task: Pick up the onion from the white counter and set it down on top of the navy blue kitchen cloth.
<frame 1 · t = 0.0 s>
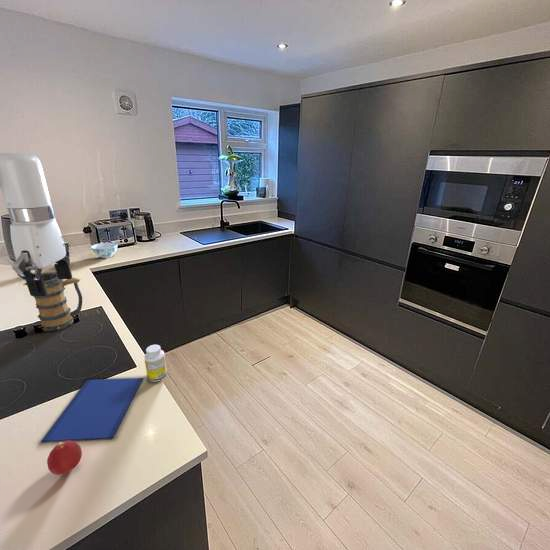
hand: (53, 286, 69), 33 cm above the worktop, tool pointing down, fingers open, 9 cm apart
mug: (64, 322, 115), on the worktop
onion: (69, 470, 61), on the worktop
dixie cup: (65, 267, 172), on the worktop
chinaware: (107, 256, 192), on the worktop
cloth: (99, 406, 77), on the worktop
supplement bottle: (157, 376, 88), on the worktop
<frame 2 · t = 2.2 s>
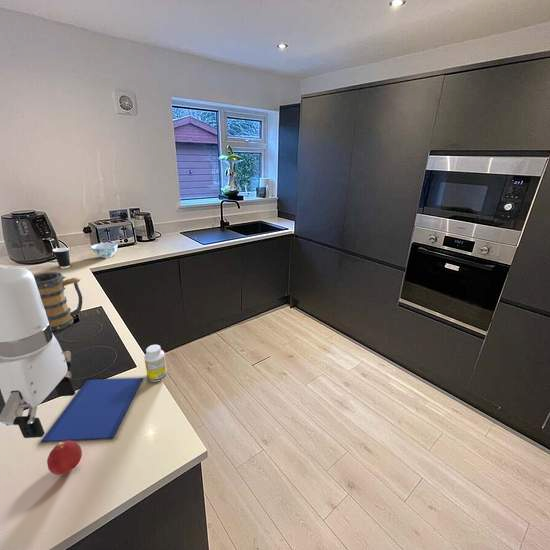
hand: (52, 413, 56), 15 cm above the worktop, tool pointing down, fingers open, 9 cm apart
nothing on the worktop moved.
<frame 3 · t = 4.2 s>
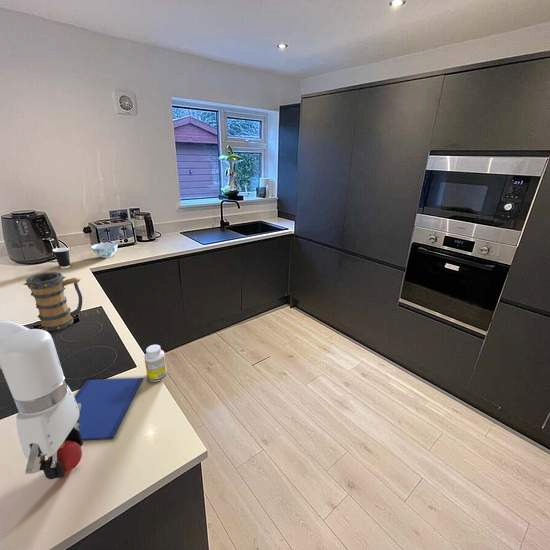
hand: (65, 459, 60), 3 cm above the worktop, tool pointing down, fingers closed on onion, 5 cm apart
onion: (69, 470, 61), on the worktop, touching gripper
everything else where it was.
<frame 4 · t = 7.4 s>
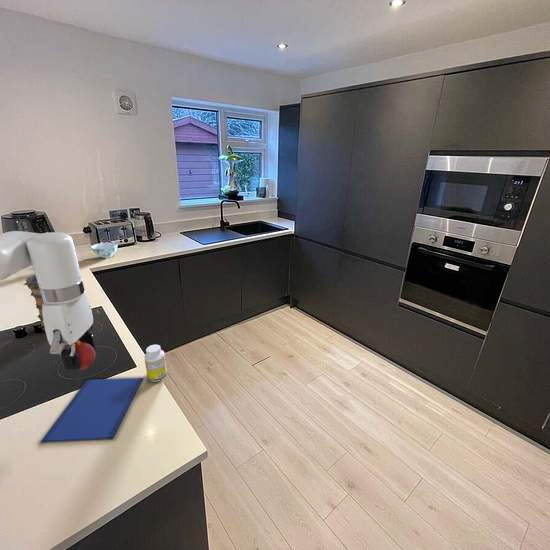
hand: (81, 358, 69), 17 cm above the worktop, tool pointing down, fingers closed on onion, 5 cm apart
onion: (84, 369, 70), point 14 cm above the worktop, touching gripper
everything else where it was.
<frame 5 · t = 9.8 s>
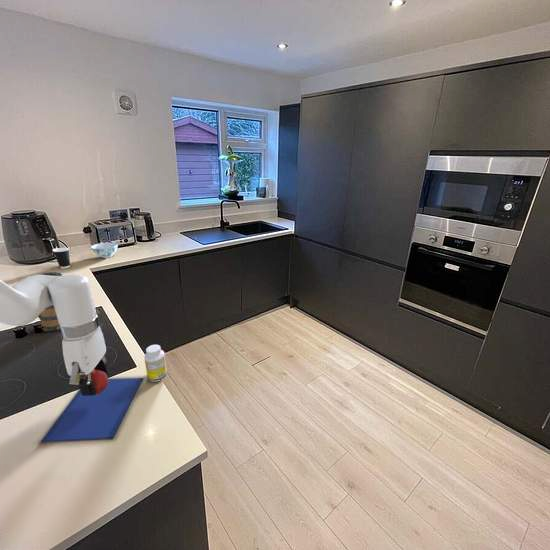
hand: (96, 384, 75), 6 cm above the worktop, tool pointing down, fingers closed on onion, 5 cm apart
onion: (98, 393, 76), point 3 cm above the worktop, touching gripper
everything else where it was.
when the fingers open (3 cm above the worktop, at t = 11.1 s): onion stays where it is, resting on cloth.
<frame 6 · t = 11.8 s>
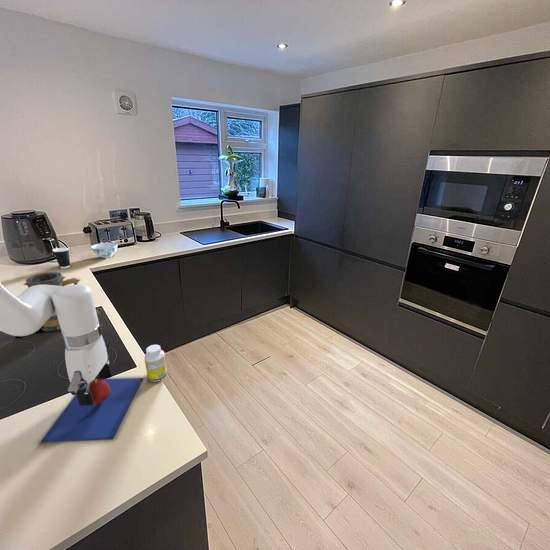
hand: (96, 390, 76), 5 cm above the worktop, tool pointing down, fingers open, 9 cm apart
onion: (100, 402, 77), resting on cloth
everything else where it was.
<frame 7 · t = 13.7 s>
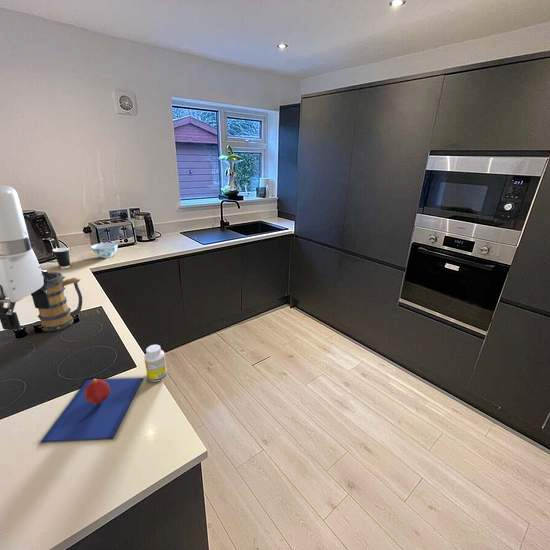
hand: (28, 317, 67), 27 cm above the worktop, tool pointing down, fingers open, 9 cm apart
nothing on the worktop moved.
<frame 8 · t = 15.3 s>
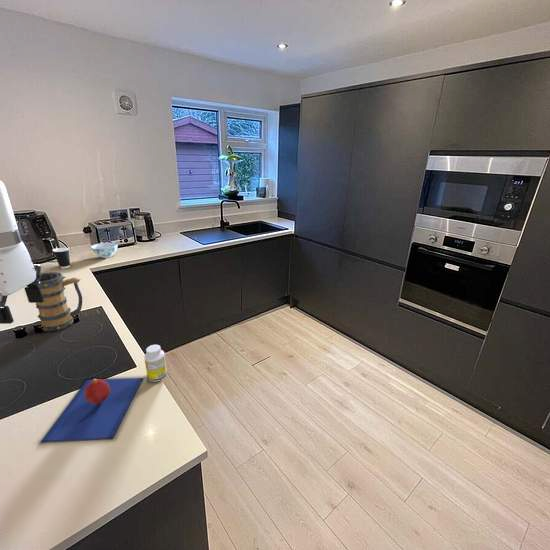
hand: (22, 311, 66), 28 cm above the worktop, tool pointing down, fingers open, 9 cm apart
nothing on the worktop moved.
at the end: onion inside the target area on the cloth (1.0 cm from its centre), point 0.2 cm above the cloth's base; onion touching cloth; the gripper is holding nothing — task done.
